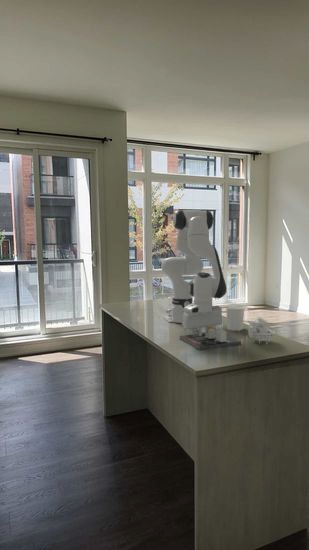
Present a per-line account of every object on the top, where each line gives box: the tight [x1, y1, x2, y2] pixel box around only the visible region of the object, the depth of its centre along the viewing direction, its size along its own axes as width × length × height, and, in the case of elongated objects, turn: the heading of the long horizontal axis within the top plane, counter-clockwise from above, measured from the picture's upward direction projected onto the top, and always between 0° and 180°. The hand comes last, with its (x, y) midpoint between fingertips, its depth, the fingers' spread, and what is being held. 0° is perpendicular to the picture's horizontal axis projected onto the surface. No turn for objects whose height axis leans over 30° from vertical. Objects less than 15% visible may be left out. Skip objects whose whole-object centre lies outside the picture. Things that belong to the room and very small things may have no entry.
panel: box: [179, 331, 242, 351], centre depth 170 cm, size 20×22×2 cm
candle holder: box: [225, 305, 245, 332], centre depth 194 cm, size 10×10×12 cm
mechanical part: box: [247, 316, 276, 345], centre depth 168 cm, size 11×12×12 cm
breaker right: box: [215, 328, 227, 342], centre depth 164 cm, size 4×3×5 cm
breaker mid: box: [205, 326, 216, 339], centre depth 170 cm, size 4×3×5 cm
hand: (202, 335), depth 169 cm, fingers closed
